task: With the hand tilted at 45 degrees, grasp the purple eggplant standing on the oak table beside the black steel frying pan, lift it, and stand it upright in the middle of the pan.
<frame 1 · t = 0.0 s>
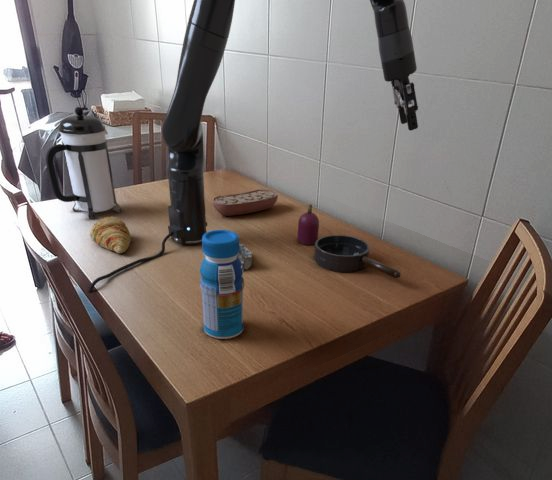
hand: (409, 126, 119), 31 cm above the table, tool tilted 20°, fingers open, 8 cm apart
croissant: (111, 243, 132), on the table
beverage bottle: (223, 330, 98), on the table
grey irregular chunk: (234, 262, 124), on the table
anatomical model: (246, 212, 156), on the table
purple eggplant: (307, 241, 137), on the table
pan: (340, 261, 127), on the table
coffee press: (94, 213, 151), on the table
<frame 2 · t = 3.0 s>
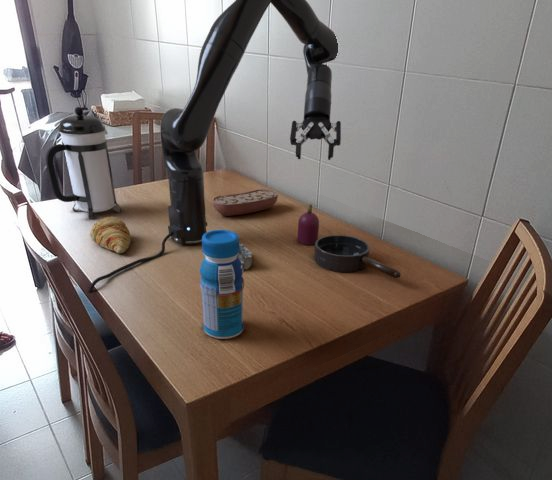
hand: (314, 158, 135), 20 cm above the table, tool tilted 40°, fingers open, 8 cm apart
nothing on the table moved.
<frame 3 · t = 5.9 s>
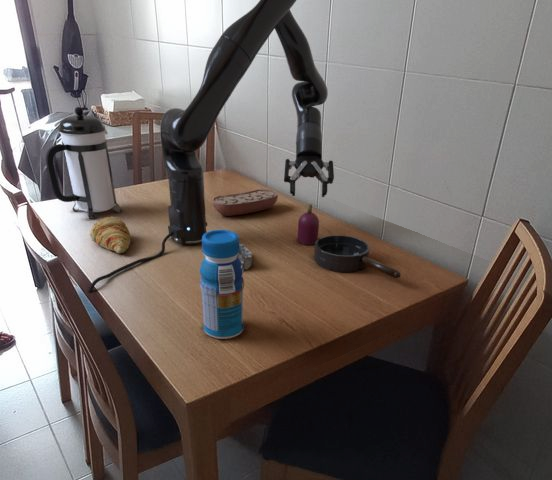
hand: (308, 195, 137), 11 cm above the table, tool tilted 45°, fingers open, 8 cm apart
nothing on the table moved.
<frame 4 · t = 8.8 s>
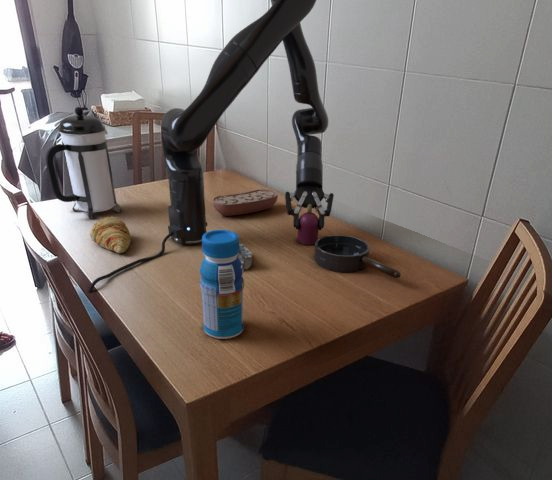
hand: (308, 228, 133), 5 cm above the table, tool tilted 45°, fingers closed on purple eggplant, 6 cm apart
purple eggplant: (307, 241, 137), on the table, touching gripper
everything else where it was.
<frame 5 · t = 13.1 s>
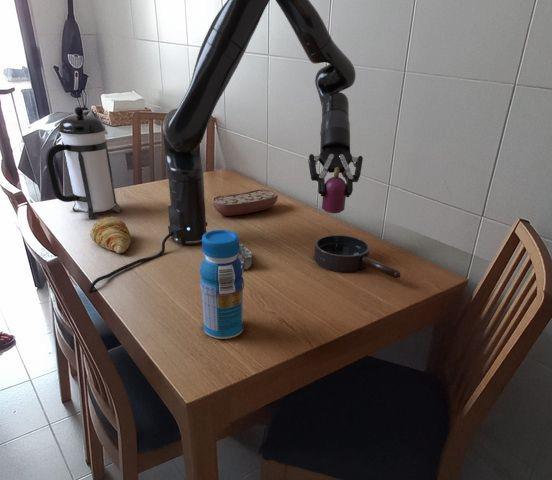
hand: (335, 195, 120), 17 cm above the table, tool tilted 45°, fingers closed on purple eggplant, 6 cm apart
purple eggplant: (332, 210, 124), point 12 cm above the table, touching gripper
everything else where it was.
when the fingers open (5 cm above the table, at t = 17.6 s): purple eggplant moves 4 cm and tips over, resting on pan.
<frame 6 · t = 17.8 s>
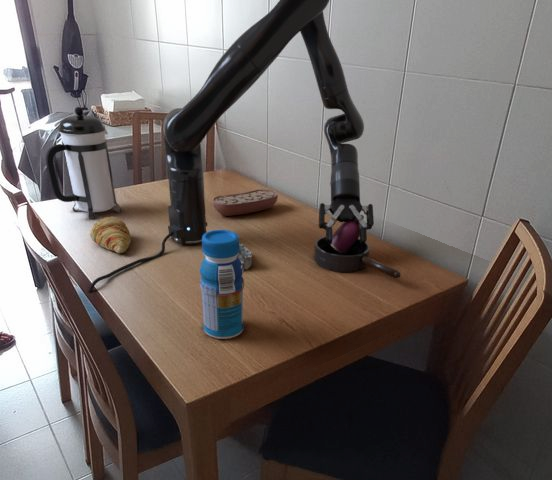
hand: (346, 243, 123), 6 cm above the table, tool tilted 45°, fingers open, 7 cm apart
purple eggplant: (335, 247, 129), point 2 cm above the table, tilted 34°, touching gripper, pan
everything else where it was.
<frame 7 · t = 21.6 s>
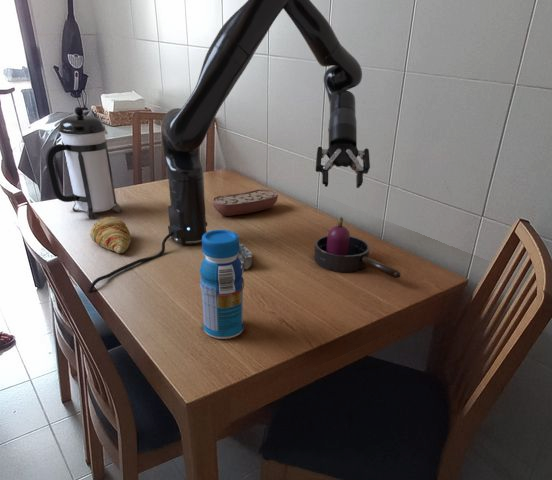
hand: (342, 185, 127), 17 cm above the table, tool tilted 45°, fingers open, 8 cm apart
purple eggplant: (336, 256, 128), resting on pan
everything else where it was.
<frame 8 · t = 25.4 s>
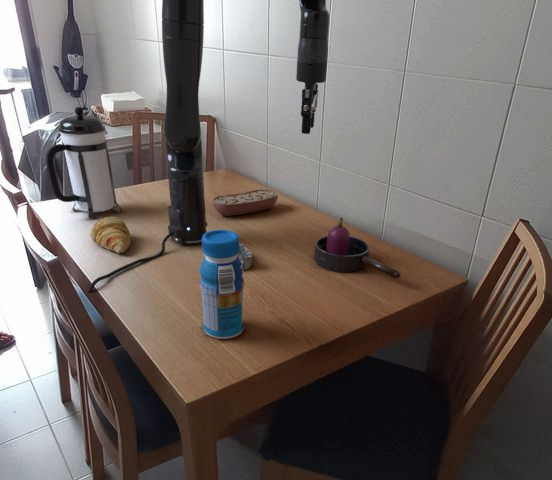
hand: (307, 130, 128), 28 cm above the table, tool pointing down, fingers open, 8 cm apart
nothing on the table moved.
at the end: purple eggplant 1.9 cm off-centre in the pan, point 0.5 cm above the pan's base; purple eggplant tilted 0°; the gripper is holding nothing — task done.
